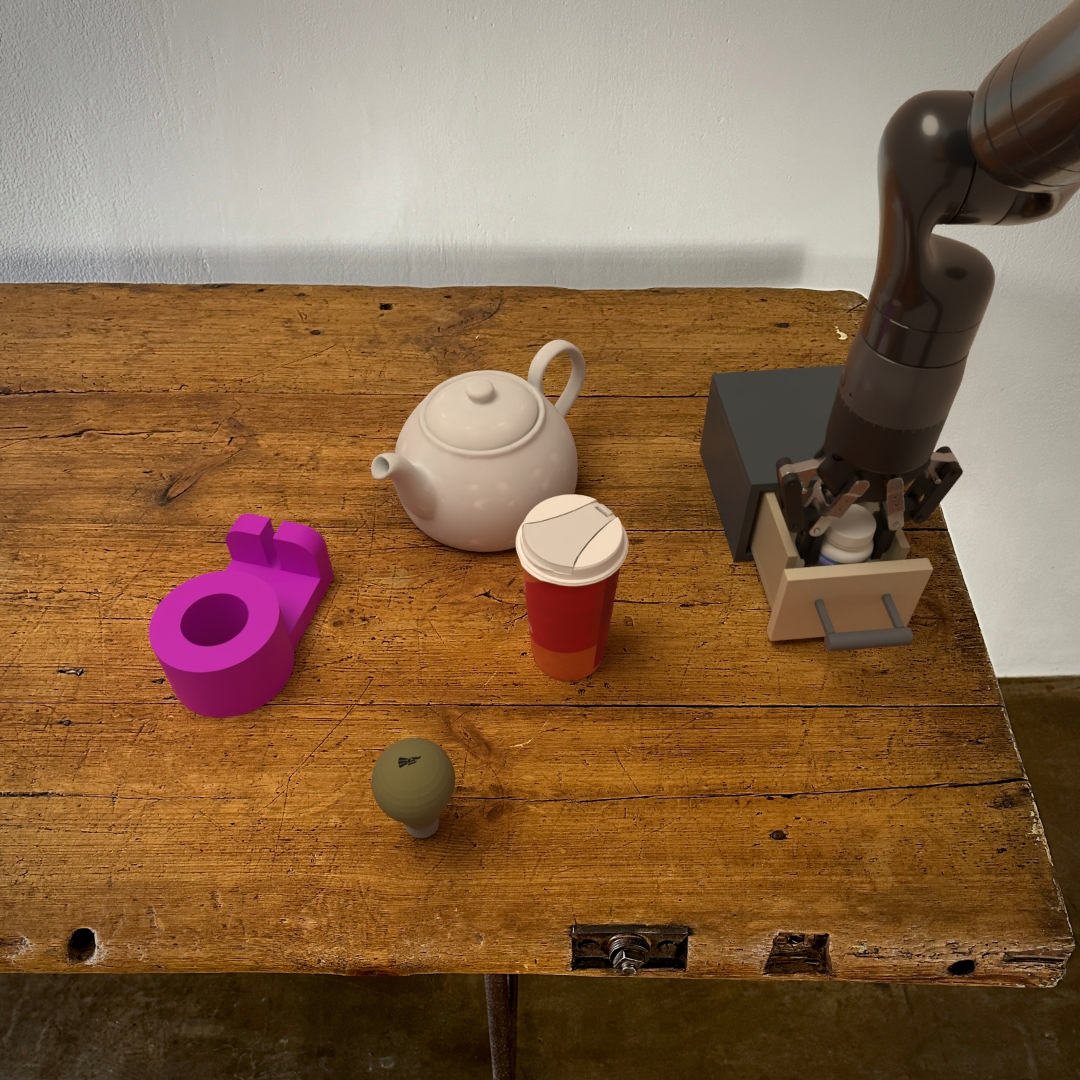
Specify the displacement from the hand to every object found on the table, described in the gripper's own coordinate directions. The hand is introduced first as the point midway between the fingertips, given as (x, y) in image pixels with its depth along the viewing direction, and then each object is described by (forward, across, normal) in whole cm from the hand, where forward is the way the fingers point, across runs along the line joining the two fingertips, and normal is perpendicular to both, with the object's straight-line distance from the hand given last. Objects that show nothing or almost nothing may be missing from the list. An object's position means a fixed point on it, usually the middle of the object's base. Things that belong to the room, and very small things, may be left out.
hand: (839, 553), depth 79 cm
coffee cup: (+7, -22, -3) cm, 24 cm away
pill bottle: (+5, 0, 0) cm, 5 cm away
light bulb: (+7, -35, -17) cm, 39 cm away
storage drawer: (+6, 0, +1) cm, 6 cm away
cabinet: (+7, 0, +13) cm, 15 cm away
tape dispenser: (+7, -49, +2) cm, 50 cm away
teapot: (+7, -28, +17) cm, 33 cm away
